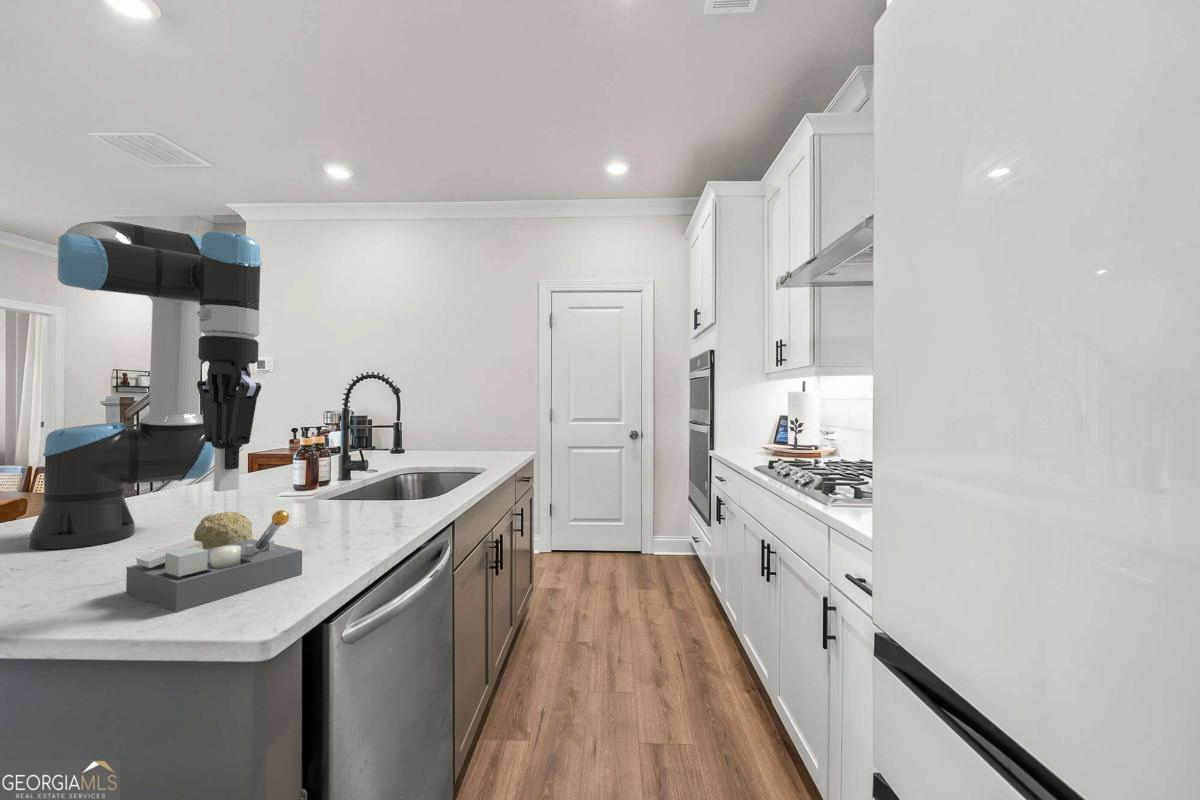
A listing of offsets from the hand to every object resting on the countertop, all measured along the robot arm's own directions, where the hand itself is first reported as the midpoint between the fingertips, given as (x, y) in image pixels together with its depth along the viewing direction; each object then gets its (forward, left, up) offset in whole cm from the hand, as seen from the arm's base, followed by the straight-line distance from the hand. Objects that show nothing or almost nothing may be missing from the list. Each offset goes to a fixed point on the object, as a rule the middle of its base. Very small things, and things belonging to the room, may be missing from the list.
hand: (226, 489), depth 81 cm
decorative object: (-19, +10, -16) cm, 27 cm away
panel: (-3, +1, -15) cm, 16 cm away
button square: (0, -5, -11) cm, 12 cm away
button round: (0, 0, -12) cm, 12 cm away
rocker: (-7, -4, -10) cm, 13 cm away
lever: (-1, +6, -10) cm, 12 cm away
